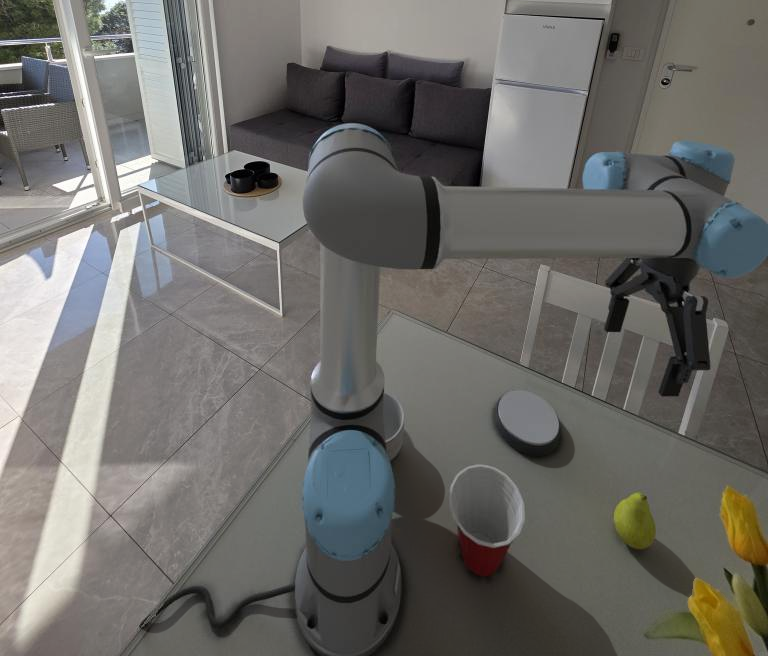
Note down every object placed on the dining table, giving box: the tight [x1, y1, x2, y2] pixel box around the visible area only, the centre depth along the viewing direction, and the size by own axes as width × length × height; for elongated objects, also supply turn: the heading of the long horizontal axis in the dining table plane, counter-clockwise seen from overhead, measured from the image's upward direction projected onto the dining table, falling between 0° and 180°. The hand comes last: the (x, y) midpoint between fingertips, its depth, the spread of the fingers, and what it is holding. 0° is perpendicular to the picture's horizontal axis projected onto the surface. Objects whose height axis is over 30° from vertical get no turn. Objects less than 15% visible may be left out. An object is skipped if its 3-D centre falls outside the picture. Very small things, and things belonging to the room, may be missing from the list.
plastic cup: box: [448, 463, 526, 578], centre depth 64 cm, size 11×11×12 cm
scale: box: [494, 389, 562, 457], centre depth 86 cm, size 12×12×3 cm
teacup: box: [383, 391, 406, 462], centre depth 82 cm, size 14×11×8 cm
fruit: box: [613, 492, 656, 550], centre depth 67 cm, size 6×6×12 cm
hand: (637, 359), depth 70 cm, fingers open, 13 cm apart
